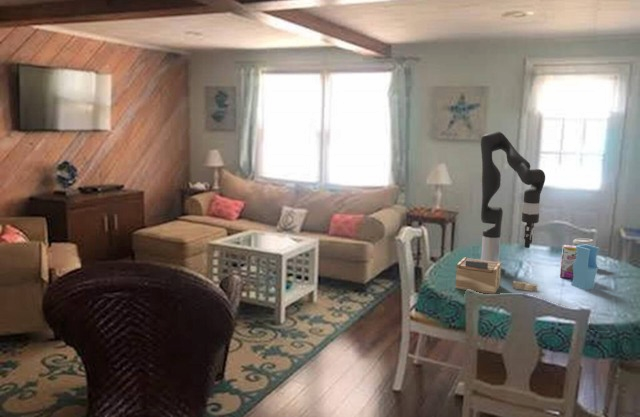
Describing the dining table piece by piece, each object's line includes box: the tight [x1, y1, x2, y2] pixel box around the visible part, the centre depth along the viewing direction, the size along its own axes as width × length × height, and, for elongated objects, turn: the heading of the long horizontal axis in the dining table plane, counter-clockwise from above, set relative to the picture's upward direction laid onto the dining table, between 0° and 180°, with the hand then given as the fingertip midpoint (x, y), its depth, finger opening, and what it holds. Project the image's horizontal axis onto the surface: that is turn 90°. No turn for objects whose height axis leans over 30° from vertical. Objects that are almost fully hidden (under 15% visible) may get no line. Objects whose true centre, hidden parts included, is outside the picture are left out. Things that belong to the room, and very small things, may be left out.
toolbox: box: [455, 256, 503, 295], centre depth 264 cm, size 15×18×12 cm
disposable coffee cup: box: [572, 238, 595, 246], centre depth 302 cm, size 11×11×15 cm
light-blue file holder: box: [570, 244, 601, 291], centre depth 265 cm, size 8×8×20 cm
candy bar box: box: [559, 244, 577, 280], centre depth 280 cm, size 11×5×16 cm, turn 71°
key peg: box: [512, 280, 538, 292], centre depth 263 cm, size 3×3×10 cm
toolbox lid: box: [460, 257, 498, 272], centre depth 263 cm, size 15×15×4 cm
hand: (528, 245), depth 259 cm, fingers open, 8 cm apart
